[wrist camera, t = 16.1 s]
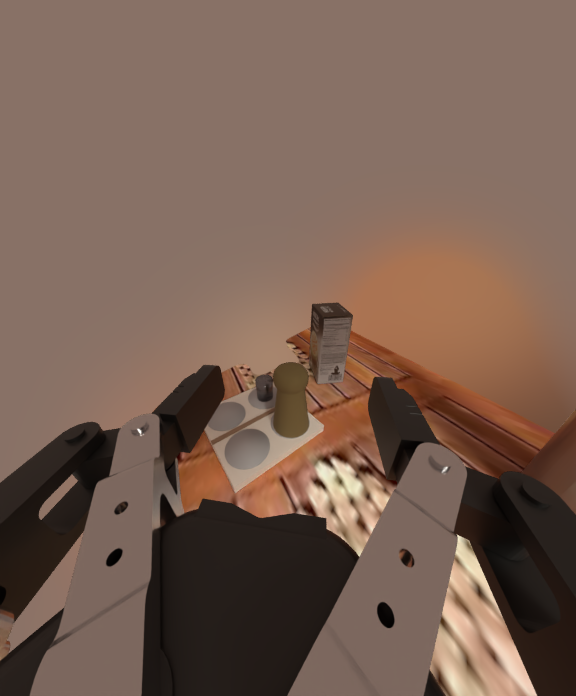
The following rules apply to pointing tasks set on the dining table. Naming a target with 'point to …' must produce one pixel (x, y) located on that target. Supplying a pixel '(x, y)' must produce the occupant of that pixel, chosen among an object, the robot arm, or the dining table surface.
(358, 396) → the dining table surface
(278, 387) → the pepper mill
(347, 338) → the coffee box
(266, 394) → the pin
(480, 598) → the dining table surface
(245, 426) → the board
